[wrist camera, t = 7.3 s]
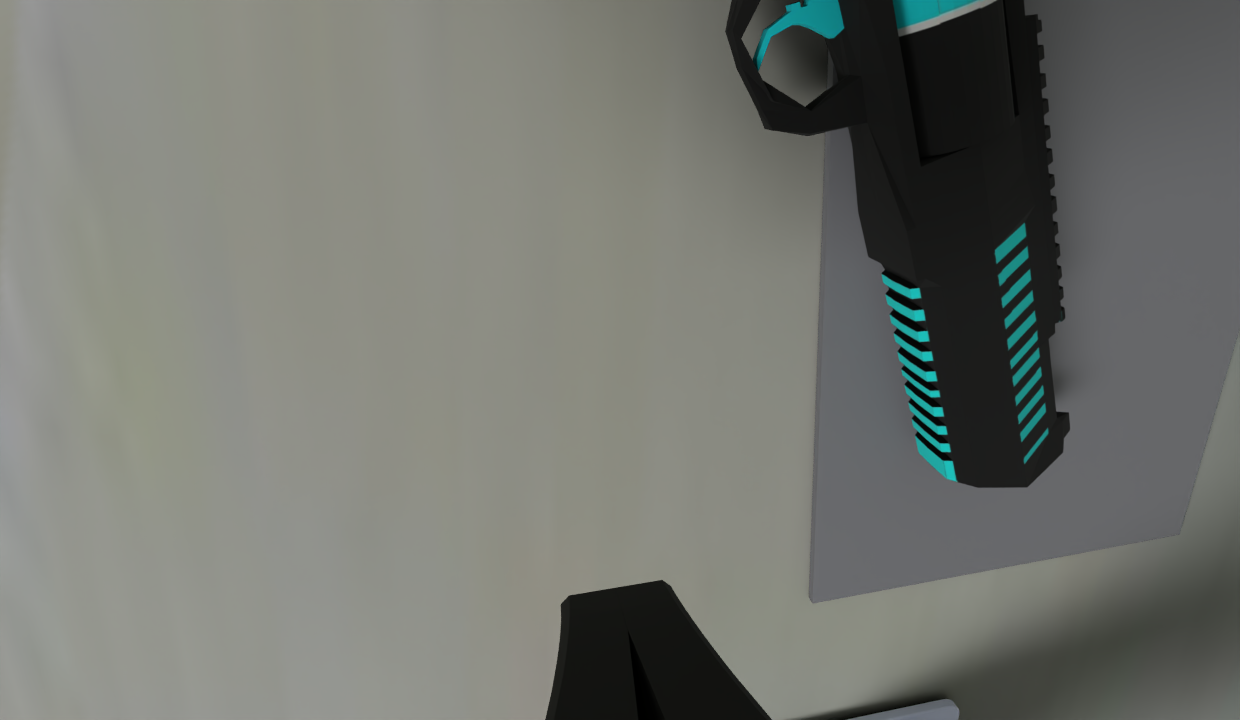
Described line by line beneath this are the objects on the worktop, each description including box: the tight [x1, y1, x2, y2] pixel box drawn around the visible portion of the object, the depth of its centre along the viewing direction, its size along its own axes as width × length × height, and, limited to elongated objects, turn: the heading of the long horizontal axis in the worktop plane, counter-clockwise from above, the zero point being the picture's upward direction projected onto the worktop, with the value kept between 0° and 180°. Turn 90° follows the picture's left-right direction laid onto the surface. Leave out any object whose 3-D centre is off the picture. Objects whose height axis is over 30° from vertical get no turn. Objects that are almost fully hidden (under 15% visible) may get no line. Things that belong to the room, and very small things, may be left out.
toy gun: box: [725, 0, 1070, 488], centre depth 16 cm, size 3×20×10 cm
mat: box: [809, 0, 1240, 603], centre depth 19 cm, size 24×14×1 cm, turn 4°
